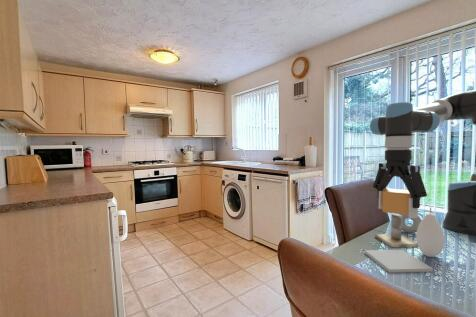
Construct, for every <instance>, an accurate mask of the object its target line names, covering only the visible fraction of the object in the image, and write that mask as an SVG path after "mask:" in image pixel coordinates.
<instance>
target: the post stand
mask: <svg viewBox="0 0 476 317" xmlns="http://www.w3.org/2000/svg"><path fill="white" fill-rule="evenodd" d="M390 214H391V215H390V216H391V217H390V219H391V220H390V221H391V222H390V224H391V226H390V229H391V230H390V233H380V234H379V233H378V234H375V236H374V238H377V239H378V240H379V241H381V242H382V243H384V244H386V245H388V246H389V247H391V248H419V247H418V244H417V241H415V240H413V239H411V238H409V237H407V236H405V235H403V234H402V232H403V230H402V215H398V214H395V213H390Z"/></svg>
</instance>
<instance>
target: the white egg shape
mask: <svg viewBox="0 0 476 317" xmlns="http://www.w3.org/2000/svg"><path fill="white" fill-rule="evenodd" d="M421 220H422V221H421V222H420V224H419V226H418V229H417V232H416V234H415V235H416V242H417V244H418V247H417V248H418V249H419V250H420V252H422V253H423V255H424V256H426V257H428V258H434V257H435V258H436V256H439V255H441V253H442V252H443V250H444V247H445V235H444V231H443V228H442V225H441V223H440V221H439V220H438V219H437V218H436V215H435V214H434V213H432V207H431V206H430V207H429V213H425V216H424V217H423V218H422V219H421Z"/></svg>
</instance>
